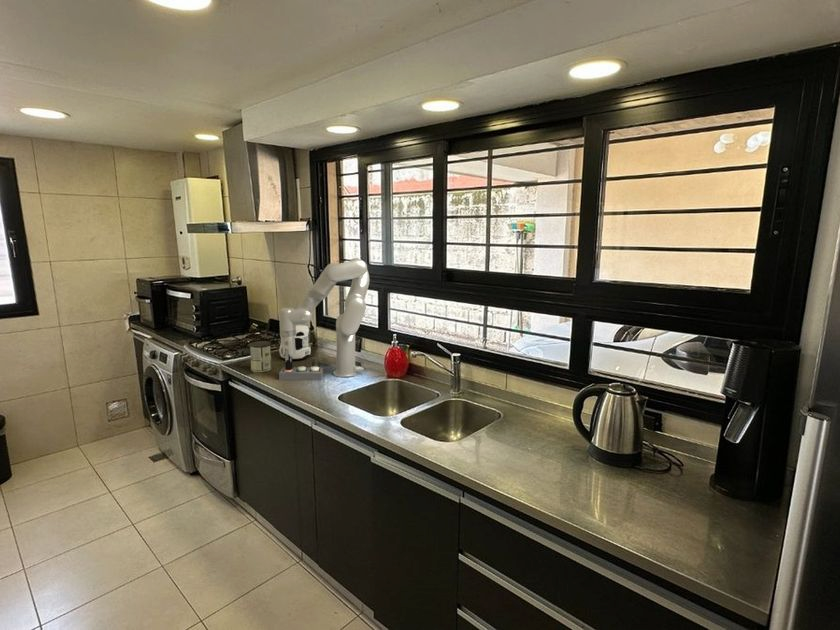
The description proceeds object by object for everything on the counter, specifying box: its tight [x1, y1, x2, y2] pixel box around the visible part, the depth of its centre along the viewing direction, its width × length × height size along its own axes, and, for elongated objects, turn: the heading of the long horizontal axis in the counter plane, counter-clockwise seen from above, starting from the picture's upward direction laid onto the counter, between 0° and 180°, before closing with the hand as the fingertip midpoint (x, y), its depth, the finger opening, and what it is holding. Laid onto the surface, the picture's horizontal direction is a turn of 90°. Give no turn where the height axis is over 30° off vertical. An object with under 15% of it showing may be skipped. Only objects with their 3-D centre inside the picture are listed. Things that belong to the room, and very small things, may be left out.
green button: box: [296, 365, 306, 372], centre depth 216 cm, size 4×4×2 cm
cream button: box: [310, 365, 319, 372], centre depth 217 cm, size 4×4×2 cm
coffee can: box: [249, 340, 272, 373], centre depth 225 cm, size 10×10×14 cm
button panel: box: [278, 366, 324, 381], centre depth 216 cm, size 20×10×4 cm, turn 97°
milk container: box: [278, 324, 312, 361], centre depth 248 cm, size 17×17×18 cm
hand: (289, 369), depth 215 cm, fingers closed
